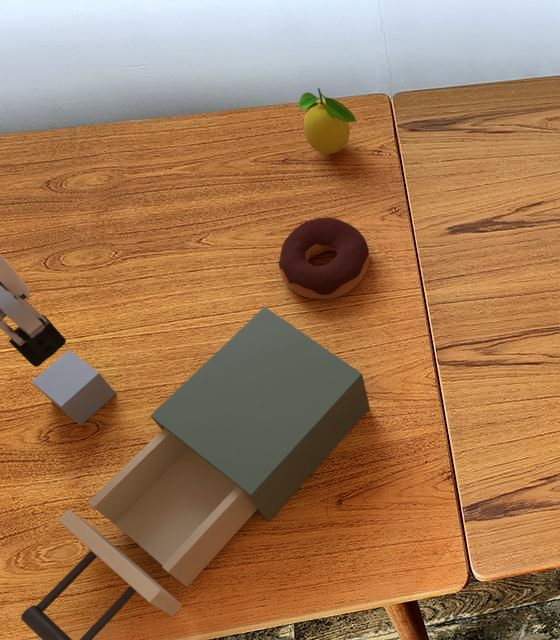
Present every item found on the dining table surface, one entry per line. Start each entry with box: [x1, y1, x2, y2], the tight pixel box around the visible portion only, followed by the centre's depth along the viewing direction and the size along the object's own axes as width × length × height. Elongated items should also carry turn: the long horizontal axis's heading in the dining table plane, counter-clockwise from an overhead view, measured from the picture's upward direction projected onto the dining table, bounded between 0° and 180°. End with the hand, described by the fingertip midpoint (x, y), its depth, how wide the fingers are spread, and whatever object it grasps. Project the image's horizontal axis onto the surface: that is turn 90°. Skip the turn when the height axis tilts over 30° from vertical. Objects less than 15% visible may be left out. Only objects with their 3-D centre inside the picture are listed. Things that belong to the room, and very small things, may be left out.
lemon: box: [297, 87, 358, 155], centre depth 92 cm, size 7×6×10 cm
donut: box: [278, 216, 370, 300], centre depth 85 cm, size 10×10×4 cm
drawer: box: [20, 428, 257, 640], centre depth 66 cm, size 21×11×6 cm, turn 144°
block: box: [30, 349, 117, 426], centre depth 76 cm, size 4×4×4 cm
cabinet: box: [150, 306, 371, 522], centre depth 73 cm, size 15×13×8 cm
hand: (17, 326), depth 66 cm, fingers open, 8 cm apart
